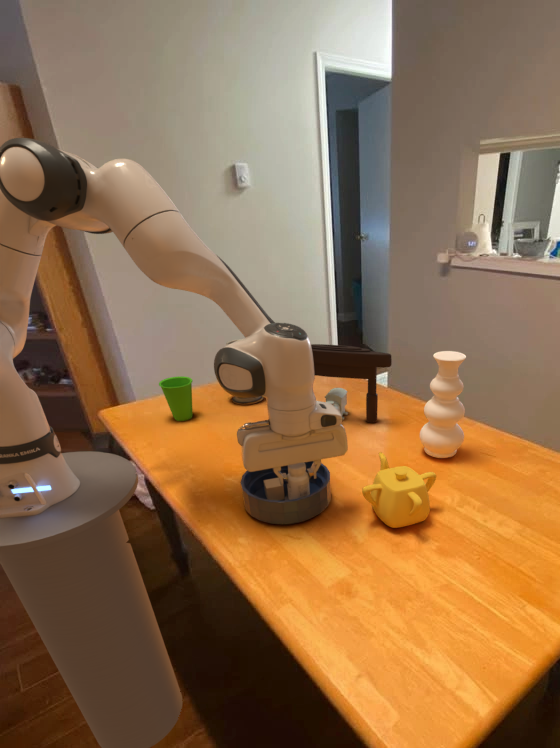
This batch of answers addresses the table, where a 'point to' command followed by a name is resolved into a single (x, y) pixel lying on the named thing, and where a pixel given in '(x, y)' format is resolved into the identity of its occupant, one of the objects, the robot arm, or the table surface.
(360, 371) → the stool
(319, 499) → the bowl
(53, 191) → the robot arm
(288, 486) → the pill bottle
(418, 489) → the teapot
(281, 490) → the cream block
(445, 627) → the table surface
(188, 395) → the cup
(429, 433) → the vase
